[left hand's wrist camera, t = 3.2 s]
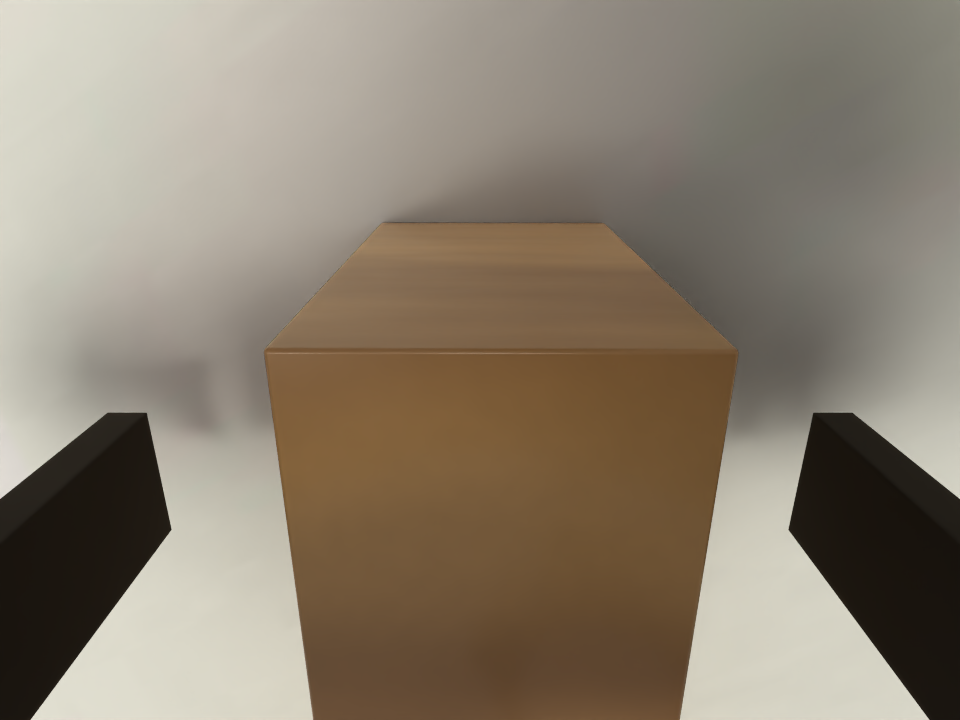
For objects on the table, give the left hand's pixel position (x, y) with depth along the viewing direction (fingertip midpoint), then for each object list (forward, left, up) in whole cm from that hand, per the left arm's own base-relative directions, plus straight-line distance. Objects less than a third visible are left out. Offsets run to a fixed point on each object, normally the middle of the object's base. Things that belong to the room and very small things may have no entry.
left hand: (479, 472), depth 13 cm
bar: (+7, +4, -3) cm, 9 cm away
